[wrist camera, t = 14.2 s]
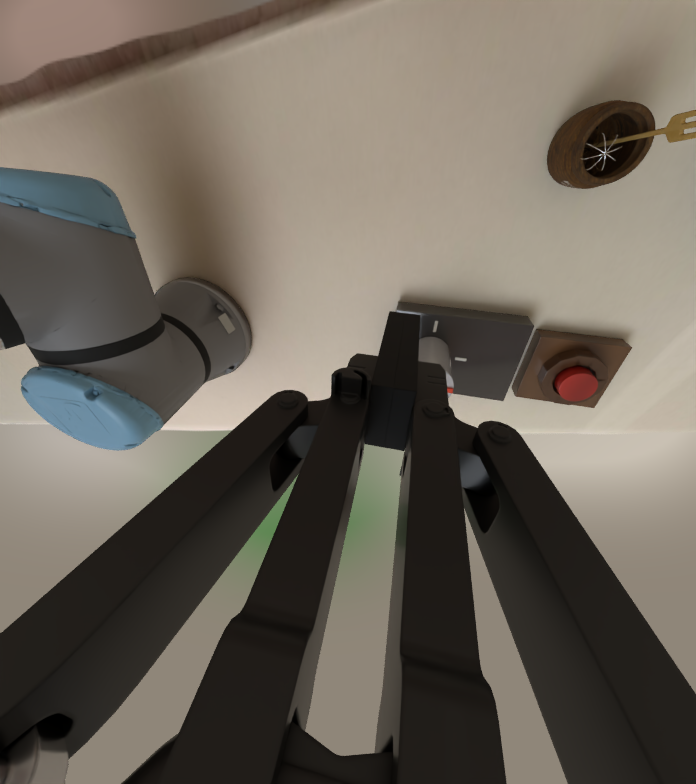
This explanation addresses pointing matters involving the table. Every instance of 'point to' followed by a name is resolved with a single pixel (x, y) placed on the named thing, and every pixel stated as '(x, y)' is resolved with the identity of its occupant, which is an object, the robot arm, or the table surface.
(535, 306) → the table surface
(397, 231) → the table surface
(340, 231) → the table surface
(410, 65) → the table surface
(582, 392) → the power button
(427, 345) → the stove knob
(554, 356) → the block
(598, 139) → the utensil holder
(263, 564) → the robot arm
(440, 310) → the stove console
